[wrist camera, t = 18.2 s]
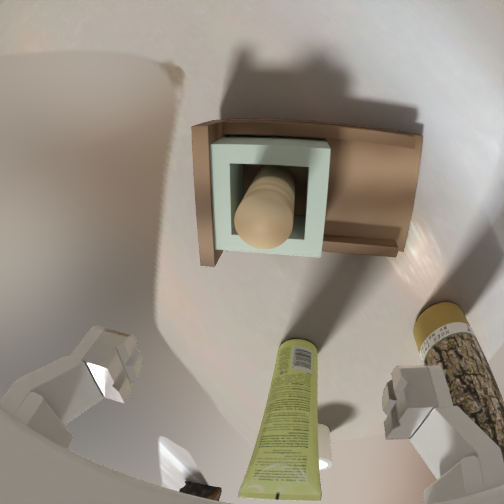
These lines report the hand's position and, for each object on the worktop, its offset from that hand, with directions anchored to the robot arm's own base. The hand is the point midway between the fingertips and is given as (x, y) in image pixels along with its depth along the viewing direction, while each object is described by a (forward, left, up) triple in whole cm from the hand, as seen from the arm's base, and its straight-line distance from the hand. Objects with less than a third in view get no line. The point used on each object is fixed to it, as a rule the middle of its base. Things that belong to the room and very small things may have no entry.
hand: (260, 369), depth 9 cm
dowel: (0, -2, -20) cm, 20 cm away
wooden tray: (0, +3, -21) cm, 22 cm away
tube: (+21, +2, -22) cm, 30 cm away
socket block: (0, -2, -20) cm, 20 cm away
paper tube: (+15, +19, -22) cm, 32 cm away
